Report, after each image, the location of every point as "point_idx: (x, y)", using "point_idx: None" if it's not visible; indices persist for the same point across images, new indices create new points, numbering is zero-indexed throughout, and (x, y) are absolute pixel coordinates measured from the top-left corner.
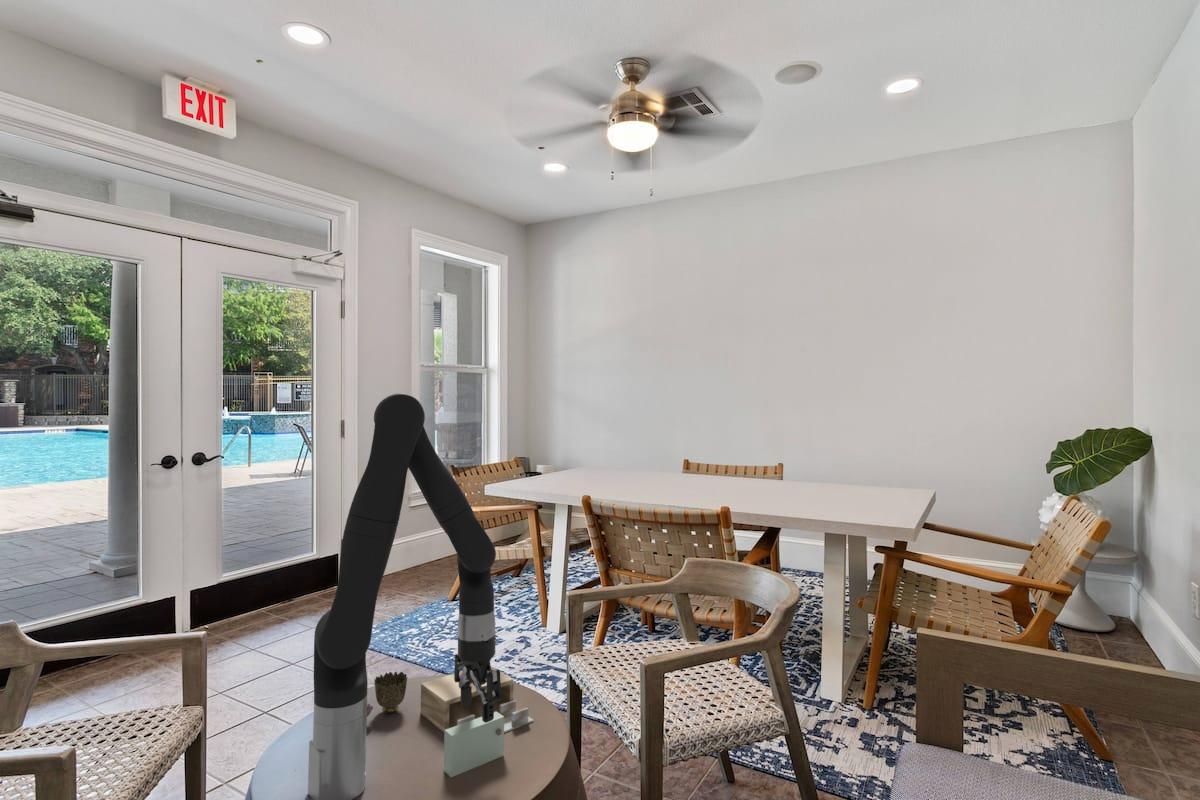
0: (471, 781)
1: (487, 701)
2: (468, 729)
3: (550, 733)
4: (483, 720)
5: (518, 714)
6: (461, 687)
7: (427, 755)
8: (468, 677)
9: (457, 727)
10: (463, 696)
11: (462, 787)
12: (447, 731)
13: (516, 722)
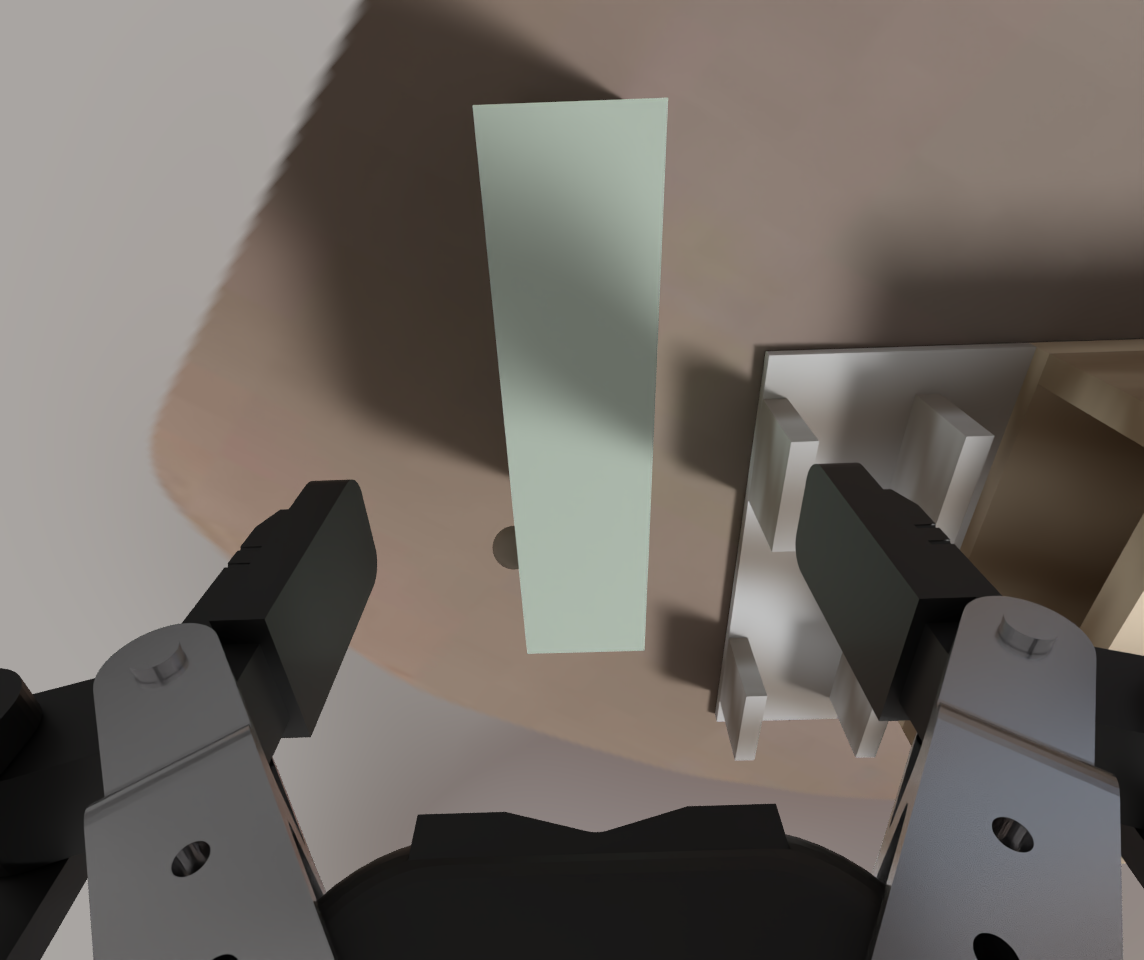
0: (388, 205)
1: (17, 691)
2: (501, 339)
3: (574, 714)
4: (318, 484)
5: (739, 707)
6: (960, 620)
7: (900, 93)
8: (793, 925)
9: (619, 265)
10: (863, 545)
11: (349, 113)
12: (612, 114)
13: (731, 667)
